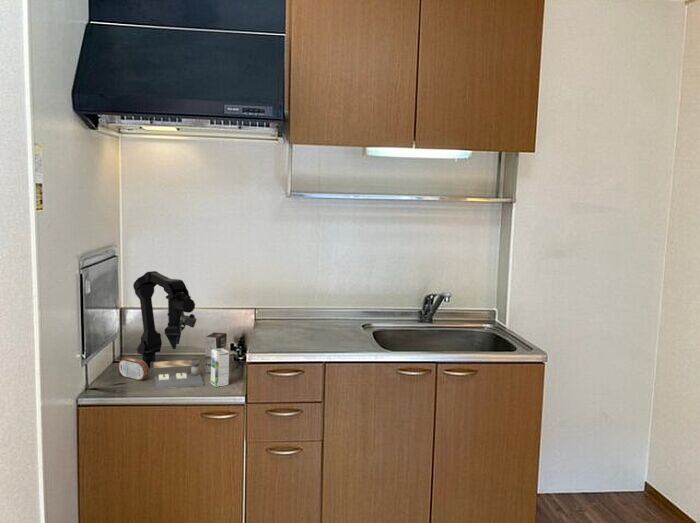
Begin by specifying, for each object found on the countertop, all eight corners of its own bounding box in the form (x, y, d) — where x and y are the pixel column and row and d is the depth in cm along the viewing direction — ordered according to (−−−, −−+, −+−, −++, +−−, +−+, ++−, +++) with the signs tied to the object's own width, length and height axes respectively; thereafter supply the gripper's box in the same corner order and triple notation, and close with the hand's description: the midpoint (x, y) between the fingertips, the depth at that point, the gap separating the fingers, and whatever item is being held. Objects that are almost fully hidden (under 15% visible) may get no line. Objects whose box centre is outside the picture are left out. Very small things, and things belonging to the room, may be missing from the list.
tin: (149, 380, 232) (149, 360, 231) (143, 382, 229) (144, 362, 228) (123, 374, 238) (122, 355, 237) (117, 376, 235) (117, 356, 234)
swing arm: (198, 363, 240) (198, 358, 239) (199, 366, 236) (199, 361, 236) (150, 366, 232) (150, 361, 232) (150, 369, 229) (150, 363, 229)
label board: (154, 378, 234) (154, 366, 234) (199, 375, 241) (200, 363, 240) (155, 389, 221) (155, 376, 221) (203, 385, 228) (203, 373, 227)
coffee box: (218, 373, 245) (218, 337, 243) (204, 372, 246) (205, 336, 244) (226, 367, 254) (227, 333, 252) (213, 366, 255) (214, 331, 253)
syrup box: (210, 383, 231) (210, 349, 230) (223, 381, 235) (223, 347, 233) (215, 387, 227) (216, 352, 225) (229, 385, 230) (229, 351, 229)
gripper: (192, 313, 226) (193, 351, 227) (197, 306, 245) (198, 341, 246) (164, 313, 224) (164, 352, 226) (171, 306, 243) (171, 341, 244)
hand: (176, 346), depth 235 cm, fingers open, 9 cm apart
